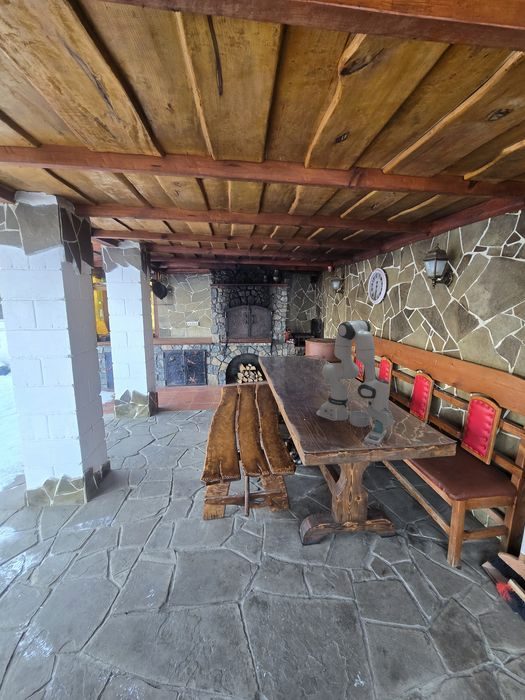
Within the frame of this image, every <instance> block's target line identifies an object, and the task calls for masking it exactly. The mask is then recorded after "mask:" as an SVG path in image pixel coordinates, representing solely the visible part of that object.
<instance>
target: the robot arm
mask: <svg viewBox="0 0 525 700" xmlns="http://www.w3.org/2000/svg"><path fill="white" fill-rule="evenodd" d="M371 331H372V328H371V324H370V322H369V321H368V320H365V319H364V320H363V319H360V320H357V319H354V320H349V321H344V322H341V323H340V324H339V325H338V328H337V332H336V333H337V334H336V336H335V343H334V350H333V351H334V352H333V353H334V356H335V358H337V359H339V360H341V362H339V363H337V362H336V363H335V362H332V363H327V364H324V365H323V366H322V369H321V371H322V373H321V374H322V375H323V378H325V380H327V381H328V382H329V384H330V395H329V396H328V397H327V400H328V401H326V402H324V403H323V404H321V406H320V408H319V409H318V410H317V411H316V416H319V417H322V418H324V419H328V420H329V421H334V422H335V421H336V422H337V421H347V420H348V419H349V414H348V406H349V398H348V393H349V392H348V391H349V388H348V386H347V385H346V384H344V383H342V382H341V380H352V379H356V378H357V377H359V374H360V368H359V366H358V365H357V364H356V363H355V362H354V361H353V357H352V351H353V350H352V347H353V340H354V342H355V356H356V360H357V361H358V362H359V363H361V365H363V368H364V376H365V379H364V382H362V383H361V384H360V385H358V387H357V394H358V396H359V397H360V398H362V399H365V400H366V399H367V400H368V401H367V411H366V413H367V414H369V415H370V418H371V424H372V425H375V421H376V420H378V421H380V422H381V423H383V427H382V430H383V431H385V430H387V427H392V426H393V425H394V416H393V413H392V411H391V409H390V410H389V403H390V402H389V397H390V386H391V385H390V382H389V381H387V380H385V379H384V378H383V379H382V378H377V375H376V374H377V373H376V366H375V356H376V355H375V354H376V351H375V350H376V349H375V346H376V345H375V339H374V336H373V333H372V332H371Z"/></svg>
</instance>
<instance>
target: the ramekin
mask: <svg viewBox="0 0 525 700" xmlns="http://www.w3.org/2000/svg"><path fill="white" fill-rule="evenodd" d="M348 417H349V423H350V425H352V426H354V427H356V428H366V427H368V426H369V423H370V418H371V416H370V415H369V414H368V412H365V411H361V410H360V411H359V410H353V411H350V412H349V414H348Z"/></svg>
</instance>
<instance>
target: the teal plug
mask: <svg viewBox="0 0 525 700" xmlns="http://www.w3.org/2000/svg"><path fill="white" fill-rule="evenodd" d="M383 426H384V425H383V423H381V422H380V421H378V420H377V419H375V424H374V427H375V432H378V433H382V427H383Z"/></svg>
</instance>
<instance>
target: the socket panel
mask: <svg viewBox="0 0 525 700" xmlns="http://www.w3.org/2000/svg"><path fill="white" fill-rule="evenodd" d="M387 431H388V430H387V429H386V430H385V431H383V430H382V433H378V432H375V426H373V427H372V428H371V430H370V431H369V432H368V433H367V435H366V436H365V437H364V440H363V441H364V442H366V443H369V444H374V445H376V446H380V444H381V443H382V441H383V439H384V437H385V436H386V434H387Z"/></svg>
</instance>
